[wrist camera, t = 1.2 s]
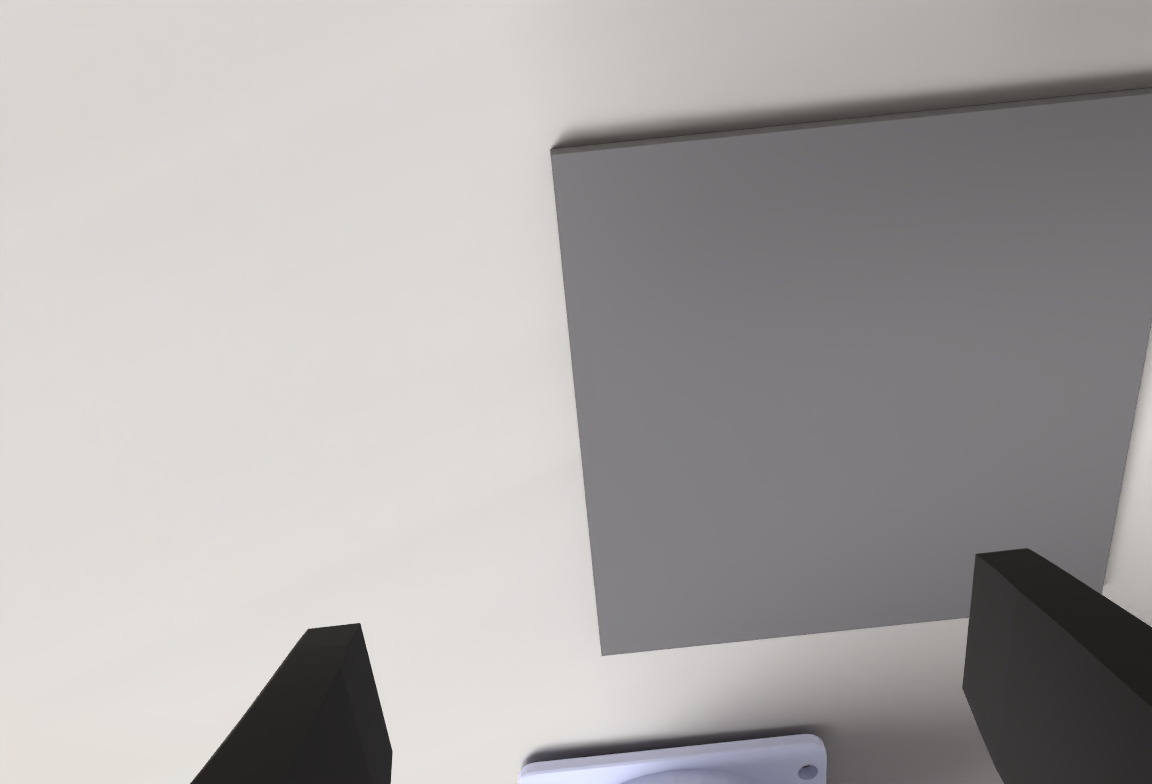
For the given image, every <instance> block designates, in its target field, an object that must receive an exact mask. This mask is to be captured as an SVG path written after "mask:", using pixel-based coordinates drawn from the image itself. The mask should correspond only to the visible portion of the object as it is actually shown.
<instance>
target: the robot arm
mask: <svg viewBox="0 0 1152 784" xmlns="http://www.w3.org/2000/svg"><path fill="white" fill-rule="evenodd" d="M963 690H964V693H965V695H966V698H967V700H968V703H969V705H970V708H971V710H972V713H973V715H974V718H975V720H976V723H977V725H978V728H979V730H980V733H981V735H982V737H983V740H984V742H985V744H986V747H987V749H988V751H989V753H990V756H991V758H992V760H993V763H994V765H995V767H996V769H997V771H998V773H999V775H1000V777H1001V778H1002V780H1003V782H1004V784H1152V627H1151V626H1149V625H1147V624H1146V623H1144V622H1143V621H1141V620H1140V619H1138V618H1137V617H1135V616H1133V615H1132V614H1130V613H1129V612H1127V611H1126V610H1124V609H1123V608H1121V607H1120V606H1118V605H1117V604H1115V603H1113V602H1112V601H1110V600H1109V599H1107V598H1106V597H1104V596H1103V595H1101V594H1100V593H1098V592H1097V591H1095V590H1094V589H1092V588H1090V587H1089V586H1087V585H1086V584H1084V583H1083V582H1081V581H1080V580H1078V579H1077V578H1075V577H1074V576H1072V575H1071V574H1069V573H1067V572H1066V571H1064V570H1063V569H1061V568H1060V567H1058V566H1057V565H1055V564H1053V563H1052V562H1050V561H1049V560H1047V559H1045V558H1044V557H1042V556H1040V555H1039V554H1037V553H1035V552H1034V551H1032V550H1030V549H1029V548H1023V549H1014V550H1005V551H997V552H988V553H979V554H976V555H975V565H974V575H973V585H972V596H971V606H970V616H969V626H968V637H967V647H966V657H965V667H964V678H963ZM807 765H810V766H809V767H806V768H802V767H803V766H807ZM391 768H392V748H391V744H390V740H389V736H388V732H387V728H386V724H385V720H384V716H383V712H382V708H381V704H380V700H379V696H378V692H377V688H376V684H375V680H374V676H373V672H372V668H371V664H370V660H369V656H368V652H367V648H366V644H365V640H364V636H363V632H362V628H361V624H360V623H357V624H348V625H339V626H330V627H321V628H312V629H308V630H307V631H306V632H305V634H304V635H303V636H302V637H301V638H300V640H299V641H298V642H297V644H296V645H295V646H294V648H293V649H292V650H291V652H290V653H289V654H288V656H287V657H286V659H285V660H284V661H283V663H282V664H281V665H280V667H279V668H278V670H277V671H276V672H275V674H274V675H273V676H272V678H271V679H270V681H269V682H268V683H267V685H266V686H265V687H264V689H263V690H262V691H261V693H260V694H259V695H258V697H257V698H256V700H255V701H254V702H253V704H252V705H251V706H250V708H249V709H248V710H247V712H246V713H245V714H244V716H243V717H242V718H241V720H240V721H239V722H238V724H237V725H236V726H235V727H234V729H233V730H232V731H231V733H230V734H229V735H228V736H227V738H226V739H225V740H224V742H223V743H222V744H221V745H220V747H219V748H218V749H217V751H216V752H215V753H214V754H213V756H212V757H211V758H210V760H209V761H208V762H207V763H206V765H205V766H204V767H203V769H202V770H201V771H200V772H199V773H198V775H197V776H196V777H195V778H194V780H193V781H192V782H191V783H190V784H391ZM826 771H827V753H826V749H825V746H824V744H823V741H822V740H821V739H820V738H819V737H818V736H815V735H813V734H799V735H789V736H780V737H770V738H761V739H752V740H742V741H733V742H723V743H714V744H704V745H695V746H685V747H676V748H666V749H657V750H647V751H638V752H628V753H619V754H609V755H600V756H590V757H581V758H571V759H562V760H552V761H543V762H534V763H530V764H527V765H525V766H524V767H522V768H521V769H520V771H519V772H518V775H517V784H826Z"/></svg>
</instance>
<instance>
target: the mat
mask: <svg viewBox="0 0 1152 784" xmlns="http://www.w3.org/2000/svg"><path fill="white" fill-rule="evenodd" d="M550 152H551V162H552V172H553V181H554V191H555V201H556V211H557V221H558V231H559V241H560V250H561V260H562V270H563V280H564V290H565V300H566V310H567V319H568V329H569V339H570V349H571V359H572V369H573V379H574V388H575V398H576V408H577V418H578V428H579V438H580V448H581V457H582V467H583V477H584V487H585V497H586V507H587V517H588V526H589V536H590V546H591V556H592V566H593V576H594V586H595V595H596V605H597V615H598V625H599V635H600V644H601V654H602V656H606V655H615V654H625V653H634V652H644V651H653V650H663V649H672V648H682V647H691V646H701V645H710V644H720V643H729V642H739V641H749V640H758V639H768V638H777V637H787V636H796V635H806V634H815V633H825V632H834V631H844V630H853V629H863V628H872V627H882V626H892V625H901V624H911V623H920V622H930V621H939V620H949V619H958V618H968V617H969V616H970V606H971V596H972V585H973V575H974V565H975V555H976V554H979V553H988V552H997V551H1005V550H1014V549H1023V548H1029V549H1030V550H1032V551H1034V552H1035V553H1037V554H1039V555H1040V556H1042V557H1044V558H1045V559H1047V560H1049V561H1050V562H1052V563H1053V564H1055V565H1057V566H1058V567H1060V568H1061V569H1063V570H1064V571H1066V572H1067V573H1069V574H1071V575H1072V576H1074V577H1075V578H1077V579H1078V580H1080V581H1081V582H1083V583H1084V584H1086V585H1087V586H1089V587H1090V588H1092V589H1094V590H1095V591H1097V592H1098V593H1100V594H1102V589H1103V583H1104V578H1105V573H1106V567H1107V562H1108V556H1109V551H1110V545H1111V540H1112V535H1113V529H1114V524H1115V518H1116V513H1117V507H1118V502H1119V496H1120V491H1121V486H1122V480H1123V475H1124V469H1125V464H1126V458H1127V453H1128V448H1129V442H1130V437H1131V431H1132V426H1133V420H1134V415H1135V410H1136V404H1137V399H1138V393H1139V388H1140V382H1141V377H1142V371H1143V366H1144V361H1145V355H1146V350H1147V344H1148V339H1149V333H1150V328H1151V323H1152V88H1143V89H1133V90H1123V91H1114V92H1104V93H1094V94H1084V95H1075V96H1065V97H1055V98H1045V99H1035V100H1026V101H1016V102H1006V103H996V104H987V105H977V106H967V107H957V108H947V109H938V110H928V111H918V112H908V113H898V114H889V115H879V116H869V117H859V118H850V119H840V120H830V121H820V122H810V123H801V124H791V125H781V126H771V127H761V128H752V129H742V130H732V131H722V132H713V133H703V134H693V135H683V136H673V137H664V138H654V139H644V140H634V141H625V142H615V143H605V144H595V145H585V146H576V147H566V148H556V149H550Z"/></svg>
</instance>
